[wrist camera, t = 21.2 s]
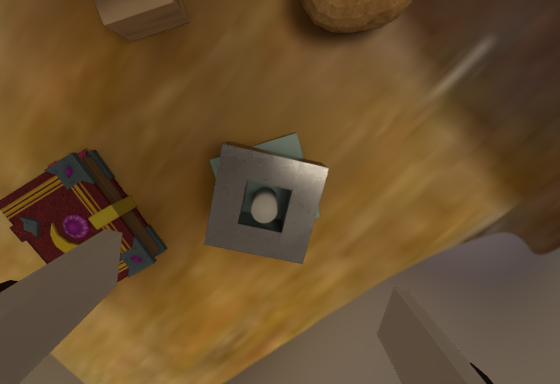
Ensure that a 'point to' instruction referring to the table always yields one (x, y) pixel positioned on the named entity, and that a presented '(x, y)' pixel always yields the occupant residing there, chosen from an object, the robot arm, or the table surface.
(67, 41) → the table surface
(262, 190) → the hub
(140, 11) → the stand
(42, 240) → the decorative book
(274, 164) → the grey square frame
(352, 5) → the potato
